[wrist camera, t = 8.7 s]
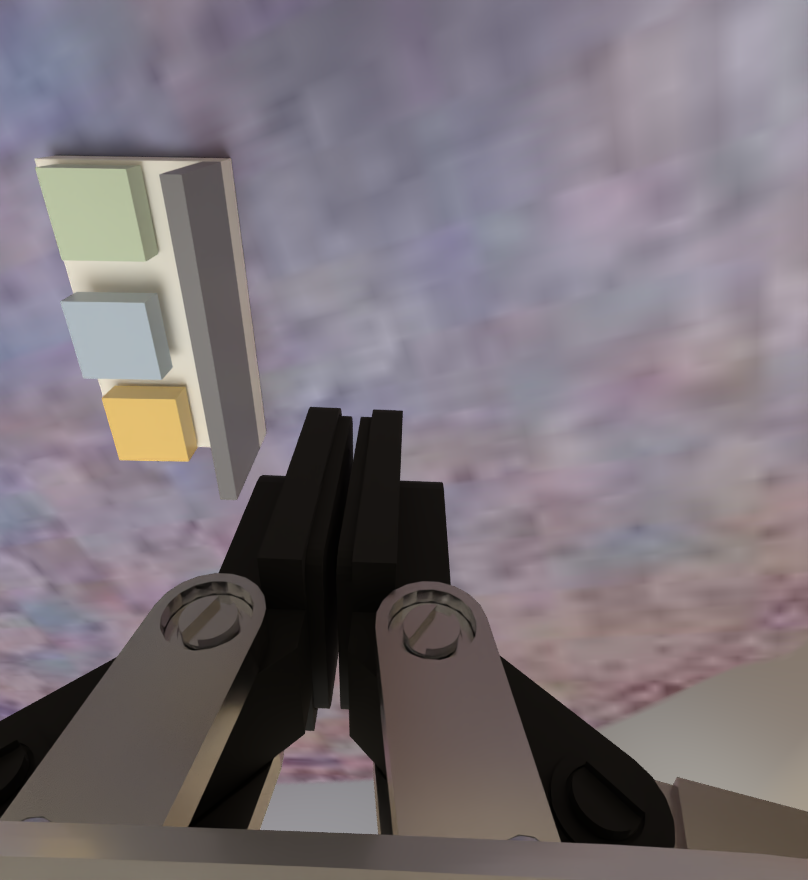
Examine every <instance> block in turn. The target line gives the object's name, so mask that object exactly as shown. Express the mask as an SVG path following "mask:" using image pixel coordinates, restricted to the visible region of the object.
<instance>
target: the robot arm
mask: <svg viewBox="0 0 808 880" xmlns="http://www.w3.org/2000/svg"><path fill="white" fill-rule="evenodd" d="M402 418H403V411H396V410H373V413H372V417H361V419H360V425H359V431H358V437H357V442H356V448H355V454H354V460H353V421H352V416H342V413H341V408H322V407H310V408H309V410H308V413H307V416H306V419H305V422H304V425H303V428H302V431H301V433H300V436H299V439H298V442H297V445H296V448H295V451H294V454H293V456H292V459H291V462H290V465H289V468H288V471H287V474H286V476H272V475H262V476H260V477H259V479H258V481H257V483H256V485H255V488H254V490H253V492H252V495H251V497H250V500H249V502H248V504H247V507H246V509H245V511H244V514H243V516H242V519H241V521H240V523H239V526H238V528H237V531H236V533H235V535H234V538H233V540H232V543H231V545H230V547H229V550H228V552H227V554H226V557H225V559H224V562H223V564H222V566H221V569H220V571H219V573H214V574H208V575H203V576H198V577H195V578H193V579H190V580H187V581H185V582H182V583H180V584H179V585H177V586H176V587H174V588H173V589H171V590H170V591H168V592H167V593H166V594H165V595H164V596H163V597H162V598H161V599H160V600H159V601H158V602H157V603H156V604H155V605H154V607H153V608H152V609H151V611H150V612H149V614H148V615H147V616H146V618H145V619H144V620H143V622H142V623H141V625H140V626H139V627H138V629H137V630H136V632H135V633H134V634H133V636H132V637H131V638H130V640H129V641H128V643H127V644H126V645H125V647H124V648H123V649H122V651H121V652H120V654H119V655H118V656H117V657H116V658H114V659H112V660H111V661H109V662H107V663H105V664H103V665H102V666H100V667H98V668H96V669H94V670H92V671H91V672H89V673H87V674H85V675H83V676H82V677H80V678H78V679H76V680H74V681H72V682H71V683H69V684H67V685H65V686H63V687H61V688H60V689H58V690H56V691H54V692H52V693H51V694H49V695H47V696H45V697H43V698H41V699H40V700H38V701H36V702H34V703H32V704H31V705H29V706H27V707H25V708H23V709H21V710H20V711H18V712H16V713H14V714H12V715H11V716H9V717H7V718H5V719H3V720H1V721H0V880H808V812H807V811H803V810H799V809H796V808H792V807H788V806H784V805H781V804H777V803H773V802H769V801H766V800H762V799H758V798H754V797H751V796H747V795H743V794H739V793H735V792H732V791H728V790H724V789H720V788H717V787H713V786H709V785H705V784H701V783H698V782H694V781H690V780H687V779H683V778H679V777H677V778H676V780H675V782H674V784H673V785H670V784H667V783H663V782H660V781H656V780H654V779H653V777H652V776H651V775H650V774H649V773H647V771H646V770H644V769H643V768H642V767H641V766H640V765H639V764H638V763H637V762H636V761H635V760H634V759H632V758H631V757H630V756H629V755H627V754H626V753H625V752H623V751H622V750H621V749H620V748H619V747H617V746H616V745H615V744H613V743H612V742H611V741H609V740H608V739H607V738H606V737H604V736H603V735H602V734H600V733H599V732H598V731H597V730H595V729H594V728H593V727H591V726H590V725H589V724H588V723H586V722H585V721H584V720H582V719H581V718H580V717H579V716H577V715H576V714H575V713H573V712H572V711H571V710H570V709H568V708H567V707H566V706H564V705H563V704H562V703H560V702H559V701H558V700H557V699H555V698H554V697H553V696H551V695H550V694H549V693H548V692H546V691H545V690H544V689H542V688H541V687H540V686H539V685H537V684H536V683H535V682H533V681H532V680H531V679H530V678H528V677H527V676H526V675H524V674H523V673H522V672H521V671H519V670H518V669H517V668H515V667H514V666H513V665H511V664H510V663H509V662H508V661H506V660H505V659H504V658H502V657H501V656H500V655H499V652H498V649H497V646H496V643H495V640H494V637H493V634H492V631H491V628H490V625H489V622H488V619H487V617H486V615H485V613H484V611H483V609H482V607H481V605H480V604H479V603H478V602H477V601H476V600H475V599H474V598H473V597H472V596H470V595H469V594H468V593H466V592H464V591H462V590H461V589H459V588H457V587H455V586H452V585H451V582H450V569H449V555H448V541H447V527H446V513H445V500H444V487H443V483H442V482H422V481H400V469H401V443H402ZM338 652H339V677H340V706H341V709H349V728H350V737H351V738H352V739H353V740H354V741H355V742H356V743H357V744H358V745H359V747H360V748H361V749H362V750H363V751H364V752H365V753H366V754H367V755H368V756H369V758H370V759H371V760H372V761H373V779H374V790H375V802H376V814H377V826H378V835H376V834H352V833H325V832H300V831H274V830H260V828H261V825H262V822H263V819H264V816H265V813H266V811H267V808H268V805H269V802H270V799H271V796H272V793H273V791H274V788H275V785H276V782H277V779H278V777H279V774H280V771H281V767H282V762H283V757H284V750H285V749H286V748H287V747H289V746H290V745H291V744H292V743H294V742H295V741H296V740H298V739H299V738H300V737H301V736H303V735H304V734H305V730H307V731H314V729H315V723H316V717H317V710H318V708H328V709H330V706H331V701H332V695H333V688H334V680H335V673H336V666H337V659H338Z"/></svg>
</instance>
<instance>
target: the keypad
mask: <svg viewBox="0 0 808 880" xmlns="http://www.w3.org/2000/svg"><path fill="white" fill-rule="evenodd" d="M35 162H36V166H37V167H40V166H46V165H51V164H88V165H141V170H142V175H143V180H144V185H145V190H146V195H147V200H148V205H149V210H150V215H151V220H152V224H153V229H154V234H155V239H156V244H157V249H158V255H156V256H154V257H153V258H151V259H149V260H148V261H146V262H132V261H73V260H64V263H65V266H66V270H67V273H68V277H69V280H70V284H71V287H72V291H73V294H74V293H76V292H119V293H157V295H158V300H159V305H160V309H161V314H162V319H163V323H164V328H165V333H166V338H167V342H168V347H169V352H170V356H171V361H172V366H173V368H172V369H171V370H170V371H169V372H168V373H167V374H166V376H165V377H164V378H163V379H162V380H142V379H98V381H99V384H100V388H101V391H102V395H103V396H104V395H105V394H106V393H107V392H108V391H110V390H111V389H112V388H113V387H114V386H166V387H185V388H186V392H187V397H188V402H189V407H190V412H191V417H192V422H193V427H194V432H195V437H196V442H197V447H211V451H212V456H213V462H214V467H215V472H216V478H217V483H218V488H219V493H220V499H221V500H237V499H238V497H239V494H240V492H241V490H242V488H243V485H244V483H245V481H246V479H247V476H248V474H249V472H250V469H251V467H252V465H253V463H254V460H255V458H256V456H257V454H258V451H259V449H260V447H261V445H262V442H263V440H264V438H265V435H266V427H265V419H264V411H263V403H262V396H261V388H260V380H259V372H258V365H257V357H256V349H255V341H254V333H253V326H252V318H251V310H250V302H249V295H248V287H247V279H246V271H245V264H244V256H243V248H242V240H241V232H240V225H239V217H238V209H237V201H236V194H235V186H234V178H233V170H232V162H231V158H175V157H112V156H49V157H43V158H37V159H35Z"/></svg>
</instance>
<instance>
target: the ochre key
mask: <svg viewBox="0 0 808 880" xmlns="http://www.w3.org/2000/svg"><path fill="white" fill-rule="evenodd" d="M102 401H103V404H104V408H105V411H106V415H107V418H108V422H109V425H110V429H111V432H112V435H113V439H114V442H115V446H116V449H117V453H118V456H119V460H139V461H189V460H190V459H191V457H192V455H193V454H194V452H195V451H196V449H197V442H196V437H195V432H194V427H193V422H192V417H191V412H190V407H189V402H188V397H187V392H186V388H185V387H166V386H114V387H113V388H112V389H111V390H110V391H108V392H107V393H106V394H105V395H104V396H103V397H102Z"/></svg>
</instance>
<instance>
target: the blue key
mask: <svg viewBox="0 0 808 880" xmlns="http://www.w3.org/2000/svg"><path fill="white" fill-rule="evenodd" d="M60 302H61V306H62V309H63V312H64V316H65V319H66V322H67V325H68V329H69V332H70V335H71V339H72V342H73V345H74V349H75V352H76V355H77V359H78V362H79V365H80V369H81V372H82V375H83V378H88V379H142V380H162V379H163V378H164V377H165V376H166V374H167V373H168V372H169V371H170V370H171V369H172V368H173V366H172V361H171V356H170V352H169V347H168V342H167V338H166V333H165V328H164V323H163V319H162V314H161V309H160V305H159V300H158V295H157V293H119V292H76V293H74V294H72V295H70V296H69V297H67V298H65V299H63V300H62V301H60Z"/></svg>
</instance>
